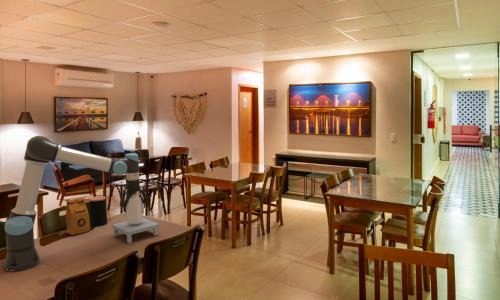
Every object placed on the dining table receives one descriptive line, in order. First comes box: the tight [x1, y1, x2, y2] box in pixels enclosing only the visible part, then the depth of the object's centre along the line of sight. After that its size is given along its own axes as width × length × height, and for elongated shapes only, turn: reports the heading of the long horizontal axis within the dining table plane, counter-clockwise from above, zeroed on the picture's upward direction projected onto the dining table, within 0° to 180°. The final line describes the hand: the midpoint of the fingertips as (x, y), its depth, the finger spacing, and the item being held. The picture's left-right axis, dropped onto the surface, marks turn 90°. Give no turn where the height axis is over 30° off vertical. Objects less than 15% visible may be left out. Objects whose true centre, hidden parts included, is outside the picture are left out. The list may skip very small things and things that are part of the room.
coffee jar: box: [88, 195, 108, 227], centre depth 246 cm, size 11×11×18 cm
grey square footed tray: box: [111, 217, 160, 244], centre depth 222 cm, size 20×20×7 cm
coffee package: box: [65, 197, 91, 236], centre depth 229 cm, size 10×12×22 cm
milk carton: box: [126, 190, 144, 224], centre depth 221 cm, size 7×7×19 cm
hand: (134, 215), depth 221 cm, fingers closed on milk carton, 10 cm apart
